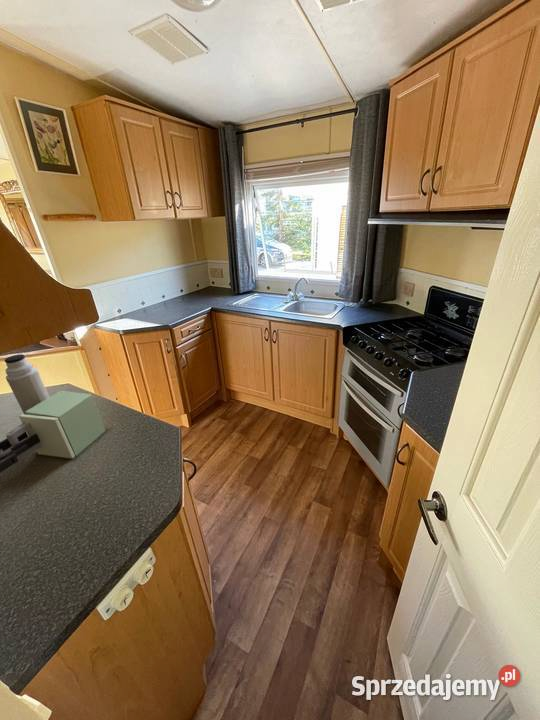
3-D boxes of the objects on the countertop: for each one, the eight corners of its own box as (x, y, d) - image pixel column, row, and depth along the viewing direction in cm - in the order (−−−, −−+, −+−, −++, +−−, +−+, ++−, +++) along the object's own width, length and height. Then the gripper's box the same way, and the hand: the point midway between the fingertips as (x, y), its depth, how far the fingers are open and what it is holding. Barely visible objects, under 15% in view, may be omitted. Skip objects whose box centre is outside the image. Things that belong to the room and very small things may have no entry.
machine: (76, 456, 89) (58, 416, 82) (44, 449, 92) (24, 411, 86) (105, 431, 99) (91, 394, 93) (75, 426, 102) (60, 390, 96)
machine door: (56, 473, 82) (35, 433, 76) (20, 468, 85) (-3, 429, 79) (75, 456, 89) (57, 417, 82) (41, 451, 91) (21, 414, 85)
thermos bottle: (29, 433, 100) (-9, 360, 88) (53, 419, 107) (21, 350, 94) (42, 439, 97) (5, 364, 85) (66, 425, 103) (35, 353, 91)
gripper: (-85, 498, 72) (18, 437, 91) (-47, 523, 65) (56, 452, 84) (-104, 476, 68) (8, 418, 87) (-66, 500, 62) (46, 432, 81)
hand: (31, 435), depth 86 cm, fingers open, 5 cm apart
